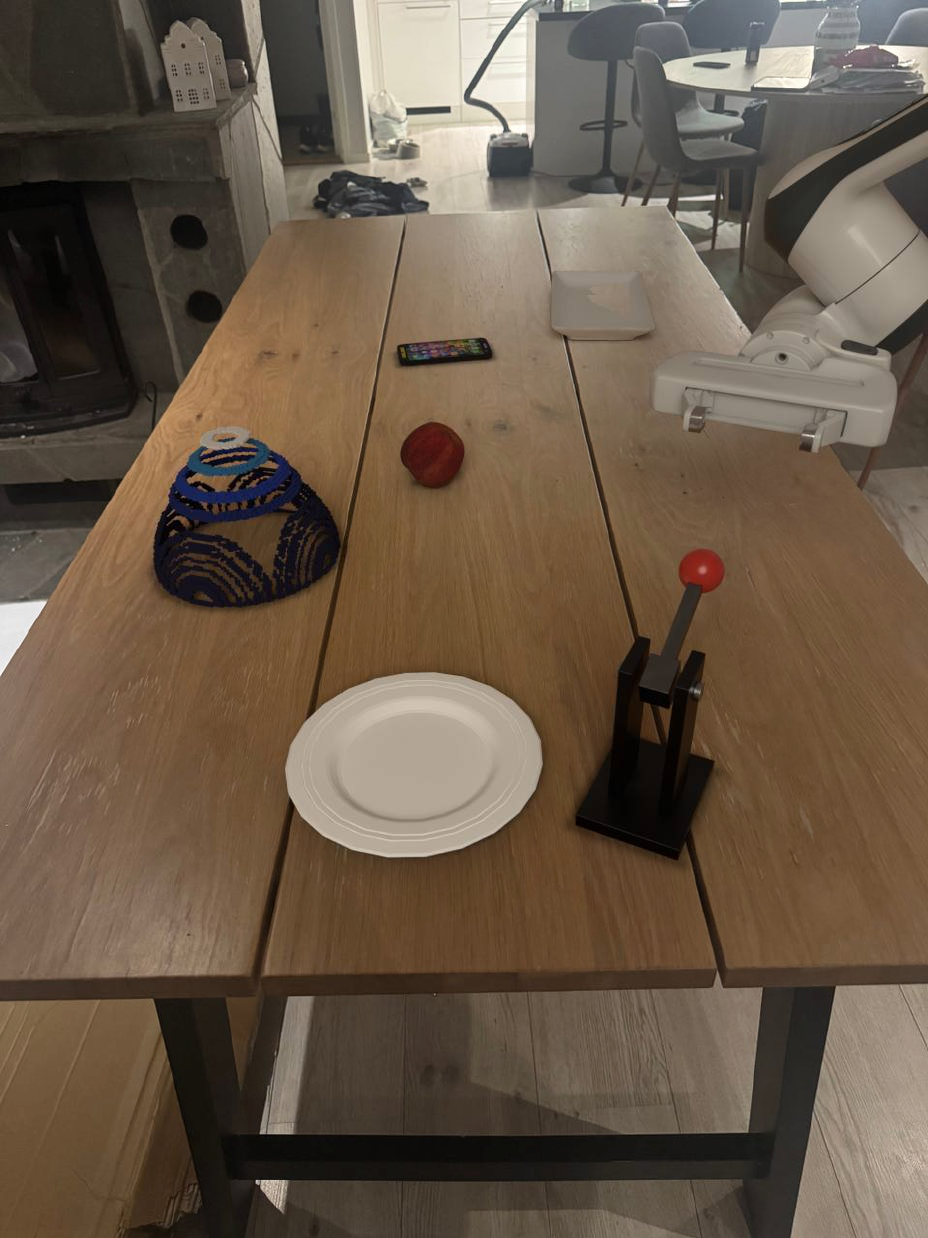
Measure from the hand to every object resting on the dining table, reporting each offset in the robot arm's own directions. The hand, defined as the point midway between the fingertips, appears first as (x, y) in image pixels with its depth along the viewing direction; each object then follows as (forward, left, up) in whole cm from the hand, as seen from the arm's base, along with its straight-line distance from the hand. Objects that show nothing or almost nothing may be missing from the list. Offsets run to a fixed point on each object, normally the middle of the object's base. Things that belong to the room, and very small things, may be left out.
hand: (749, 433), depth 75 cm
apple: (+40, -18, -22) cm, 49 cm away
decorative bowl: (+51, +5, -22) cm, 56 cm away
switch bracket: (0, +21, -22) cm, 30 cm away
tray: (+42, -84, -22) cm, 97 cm away
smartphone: (+59, -57, -22) cm, 85 cm away
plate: (+18, +26, -22) cm, 39 cm away
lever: (0, +16, -9) cm, 18 cm away
